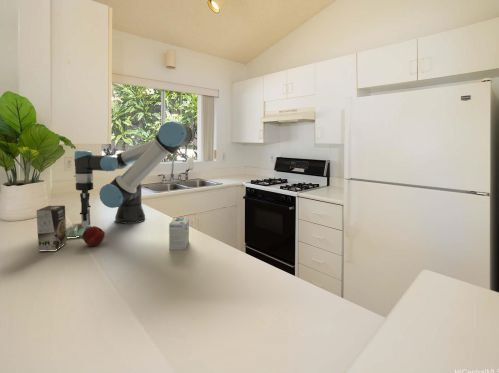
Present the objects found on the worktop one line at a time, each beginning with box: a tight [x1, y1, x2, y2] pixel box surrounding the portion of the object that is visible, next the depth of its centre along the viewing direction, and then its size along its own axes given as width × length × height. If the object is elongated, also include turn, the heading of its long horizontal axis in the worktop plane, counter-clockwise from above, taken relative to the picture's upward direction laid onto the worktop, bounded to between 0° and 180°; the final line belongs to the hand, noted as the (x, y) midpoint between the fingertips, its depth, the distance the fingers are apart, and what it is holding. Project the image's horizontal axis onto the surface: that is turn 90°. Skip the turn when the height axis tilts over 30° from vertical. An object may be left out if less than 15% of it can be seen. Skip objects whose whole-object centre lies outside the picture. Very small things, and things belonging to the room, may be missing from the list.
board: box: [66, 224, 92, 239], centre depth 126 cm, size 16×12×3 cm
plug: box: [80, 208, 91, 225], centre depth 141 cm, size 4×4×9 cm
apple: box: [81, 225, 106, 247], centre depth 112 cm, size 7×8×8 cm
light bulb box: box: [168, 217, 190, 251], centre depth 116 cm, size 11×7×11 cm, turn 5°
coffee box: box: [35, 205, 68, 251], centre depth 108 cm, size 9×6×16 cm
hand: (86, 223), depth 141 cm, fingers open, 13 cm apart
